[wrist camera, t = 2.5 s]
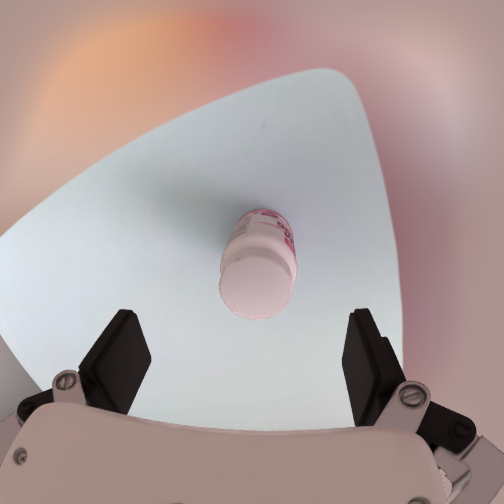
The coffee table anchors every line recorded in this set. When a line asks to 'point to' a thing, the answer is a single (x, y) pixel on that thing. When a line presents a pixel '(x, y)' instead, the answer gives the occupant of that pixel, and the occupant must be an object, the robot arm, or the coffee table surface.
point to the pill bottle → (258, 265)
